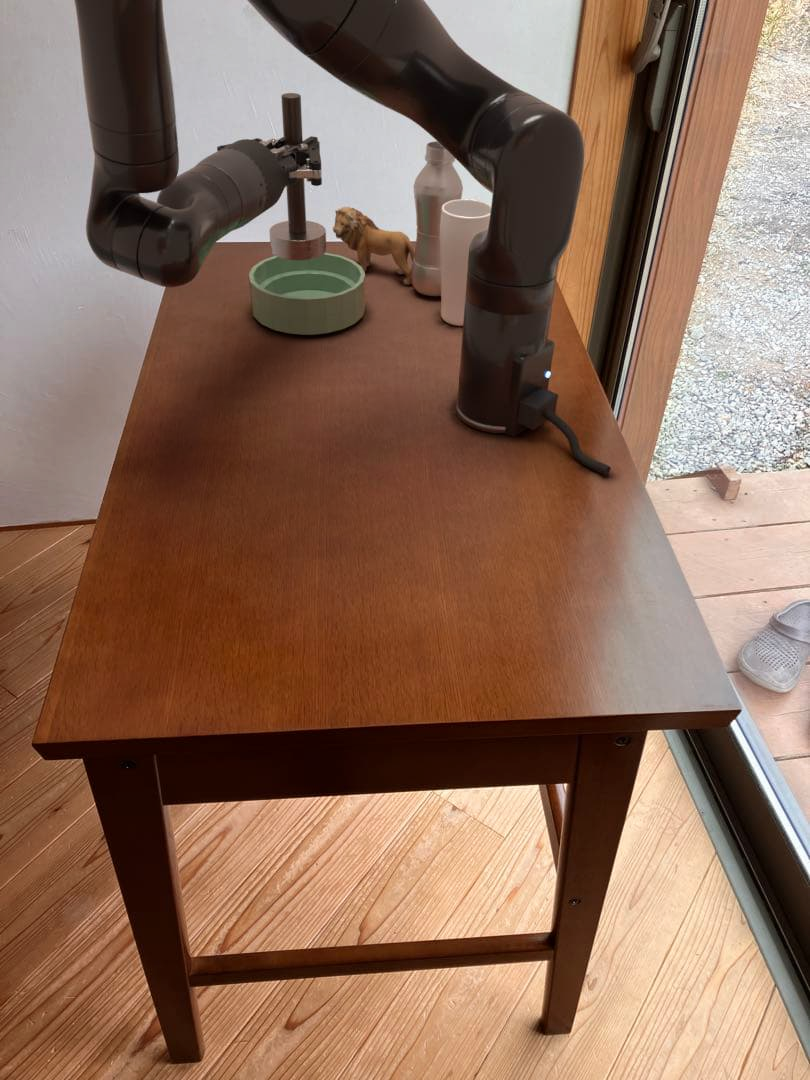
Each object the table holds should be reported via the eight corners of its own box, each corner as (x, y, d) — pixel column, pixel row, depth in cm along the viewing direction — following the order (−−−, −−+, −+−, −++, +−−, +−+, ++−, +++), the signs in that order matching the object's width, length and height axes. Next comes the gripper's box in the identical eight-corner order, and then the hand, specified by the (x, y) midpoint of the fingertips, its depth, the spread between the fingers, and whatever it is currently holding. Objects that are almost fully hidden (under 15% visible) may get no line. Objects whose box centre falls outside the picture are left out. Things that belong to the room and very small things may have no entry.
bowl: (387, 312, 121) (388, 273, 118) (307, 350, 113) (306, 310, 109) (309, 279, 129) (308, 242, 125) (229, 313, 120) (225, 274, 116)
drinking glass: (426, 322, 119) (431, 211, 110) (448, 303, 124) (455, 195, 114) (472, 334, 117) (481, 221, 107) (492, 314, 122) (503, 204, 112)
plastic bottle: (453, 304, 124) (463, 155, 111) (405, 298, 125) (410, 150, 112) (460, 285, 129) (470, 140, 116) (414, 280, 130) (420, 136, 117)
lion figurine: (328, 272, 131) (326, 211, 125) (342, 259, 135) (341, 199, 129) (422, 289, 127) (424, 227, 122) (433, 275, 131) (436, 214, 126)
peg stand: (337, 249, 113) (334, 95, 101) (297, 265, 109) (289, 106, 97) (299, 235, 116) (292, 84, 105) (259, 249, 112) (247, 94, 100)
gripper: (290, 159, 90) (357, 117, 103) (172, 141, 94) (251, 103, 106) (294, 232, 95) (357, 183, 108) (181, 212, 98) (255, 167, 111)
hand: (304, 143), depth 107 cm, fingers closed on peg stand
